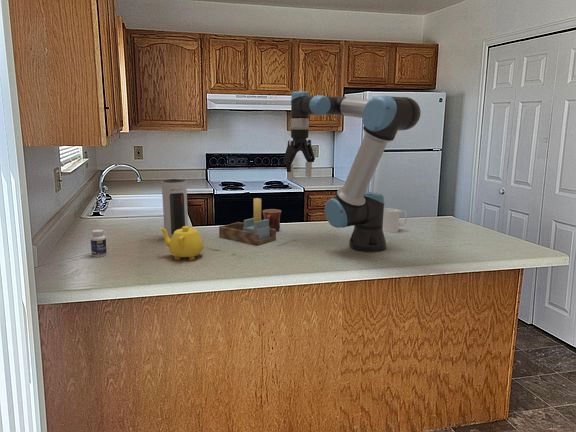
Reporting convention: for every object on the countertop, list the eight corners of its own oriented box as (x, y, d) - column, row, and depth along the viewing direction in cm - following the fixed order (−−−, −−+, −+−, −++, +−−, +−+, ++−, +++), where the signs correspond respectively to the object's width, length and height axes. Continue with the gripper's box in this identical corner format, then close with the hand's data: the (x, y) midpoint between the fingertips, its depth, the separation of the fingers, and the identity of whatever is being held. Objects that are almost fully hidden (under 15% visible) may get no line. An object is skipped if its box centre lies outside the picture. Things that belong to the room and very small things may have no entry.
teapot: (190, 249, 196) (189, 220, 194) (211, 257, 186) (210, 226, 184) (159, 256, 187) (158, 226, 184) (180, 264, 177) (179, 232, 174)
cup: (407, 233, 227) (408, 212, 225) (381, 232, 229) (382, 211, 227) (405, 229, 235) (406, 208, 233) (380, 228, 237) (381, 208, 235)
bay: (275, 243, 207) (276, 229, 206) (257, 248, 198) (257, 234, 197) (238, 234, 221) (238, 222, 219) (219, 239, 211) (219, 226, 210)
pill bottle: (97, 258, 183) (96, 232, 181) (88, 255, 186) (86, 231, 184) (109, 254, 188) (108, 230, 186) (100, 252, 190) (99, 228, 188)
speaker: (163, 242, 207) (160, 181, 201) (164, 236, 217) (161, 178, 211) (188, 241, 209) (186, 180, 203) (188, 235, 219) (186, 177, 213)
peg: (262, 226, 204) (262, 198, 202) (257, 228, 202) (257, 199, 199) (256, 225, 206) (256, 197, 204) (252, 227, 204) (251, 198, 201)
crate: (269, 240, 206) (269, 219, 205) (257, 244, 200) (257, 222, 198) (255, 237, 211) (255, 217, 209) (243, 240, 205) (242, 220, 203)
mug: (265, 229, 231) (265, 208, 229) (283, 230, 229) (283, 209, 227) (258, 235, 219) (258, 213, 217) (277, 236, 218) (277, 214, 216)
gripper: (309, 128, 220) (308, 174, 224) (274, 129, 201) (274, 180, 205) (323, 128, 215) (322, 176, 220) (289, 129, 196) (288, 181, 200)
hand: (299, 178), depth 212 cm, fingers open, 13 cm apart
